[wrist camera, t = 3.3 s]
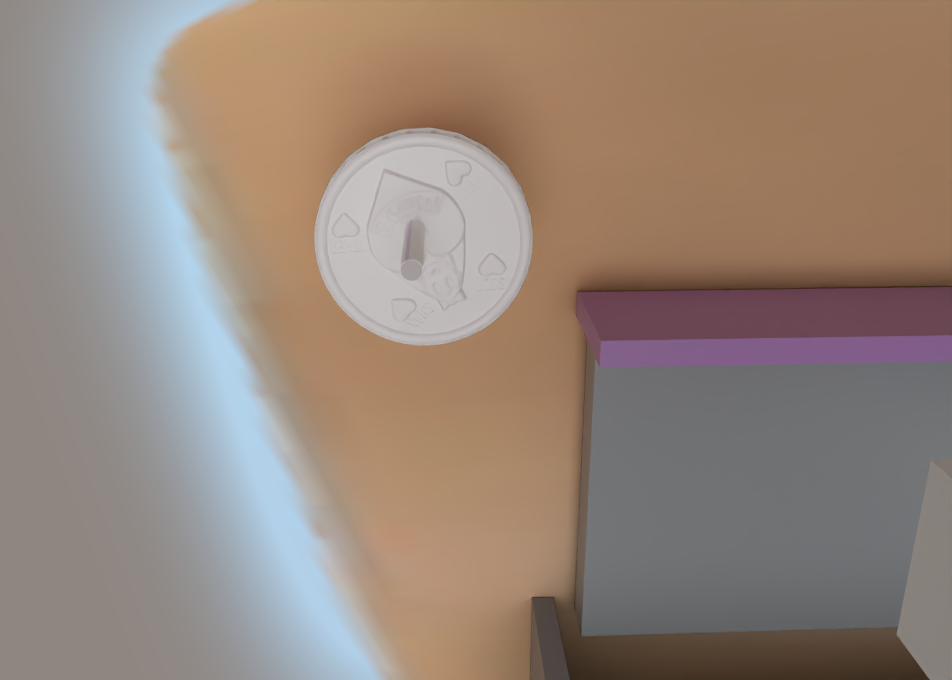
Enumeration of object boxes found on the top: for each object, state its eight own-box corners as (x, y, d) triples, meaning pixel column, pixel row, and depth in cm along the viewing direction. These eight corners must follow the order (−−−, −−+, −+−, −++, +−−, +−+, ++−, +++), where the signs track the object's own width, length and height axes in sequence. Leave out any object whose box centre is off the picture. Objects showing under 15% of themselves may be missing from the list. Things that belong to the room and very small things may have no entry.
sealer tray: (576, 291, 36) (601, 340, 31) (1056, 285, 37) (1158, 332, 32) (564, 608, 42) (582, 695, 37) (981, 596, 43) (1058, 680, 37)
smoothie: (464, 66, 33) (483, 108, 20) (536, 217, 35) (595, 344, 22) (313, 144, 34) (237, 233, 21) (392, 287, 36) (368, 449, 23)
